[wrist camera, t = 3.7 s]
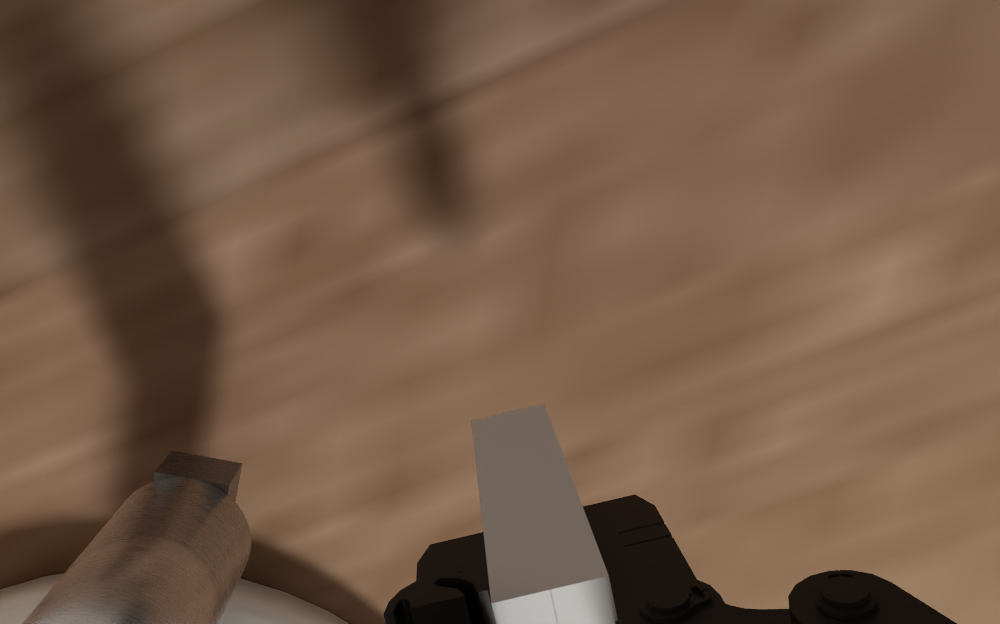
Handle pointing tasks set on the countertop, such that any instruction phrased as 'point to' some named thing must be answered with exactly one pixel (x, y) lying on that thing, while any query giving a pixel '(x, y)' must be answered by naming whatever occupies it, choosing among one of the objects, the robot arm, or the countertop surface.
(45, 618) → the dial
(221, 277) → the countertop surface
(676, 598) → the robot arm
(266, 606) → the stand
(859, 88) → the countertop surface
